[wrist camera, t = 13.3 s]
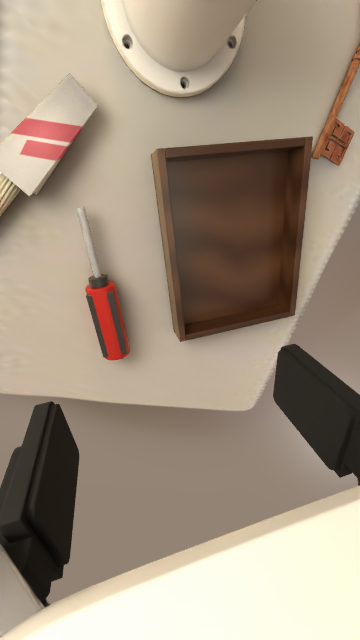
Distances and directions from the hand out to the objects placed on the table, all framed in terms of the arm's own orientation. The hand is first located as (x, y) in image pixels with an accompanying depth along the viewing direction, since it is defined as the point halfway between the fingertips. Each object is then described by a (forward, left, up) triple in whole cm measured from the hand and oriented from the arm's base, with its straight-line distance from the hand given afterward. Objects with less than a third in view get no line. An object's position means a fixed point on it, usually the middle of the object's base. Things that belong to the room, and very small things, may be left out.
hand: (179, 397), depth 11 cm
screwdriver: (+1, -3, -22) cm, 23 cm away
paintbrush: (-10, -9, -23) cm, 26 cm away
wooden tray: (-1, +13, -22) cm, 26 cm away
